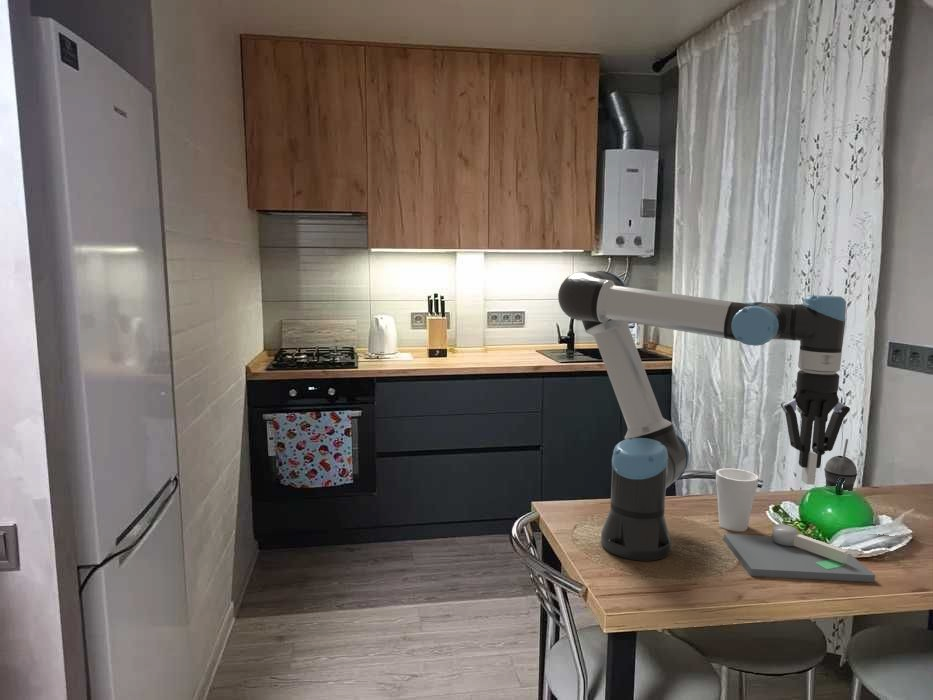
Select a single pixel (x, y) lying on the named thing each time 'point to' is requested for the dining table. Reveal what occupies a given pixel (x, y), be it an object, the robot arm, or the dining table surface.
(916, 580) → the dining table surface
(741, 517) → the foam cup
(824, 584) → the dining table surface
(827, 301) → the robot arm
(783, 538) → the white knobbed bar
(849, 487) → the beverage cup
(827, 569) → the board
